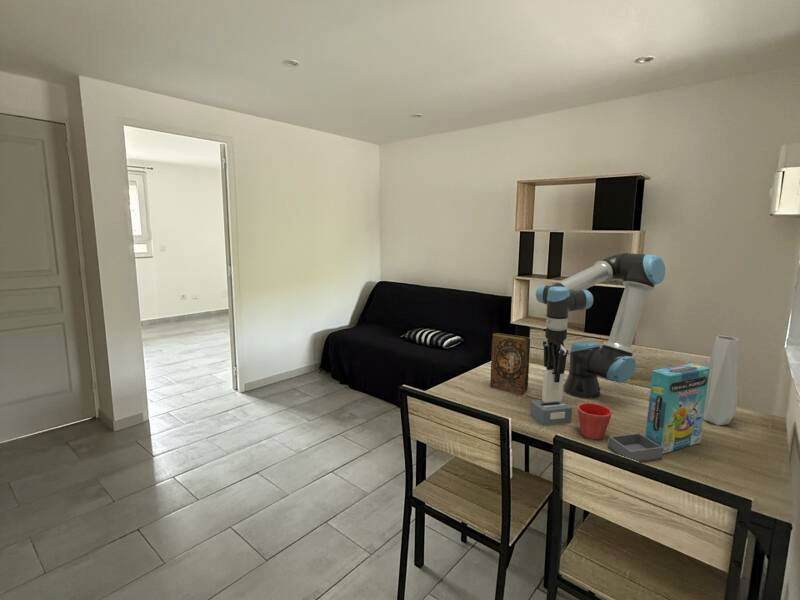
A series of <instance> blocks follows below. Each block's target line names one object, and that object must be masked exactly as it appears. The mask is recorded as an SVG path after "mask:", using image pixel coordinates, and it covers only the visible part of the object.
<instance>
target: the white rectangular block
mask: <svg viewBox="0 0 800 600" xmlns="http://www.w3.org/2000/svg"><path fill="white" fill-rule="evenodd" d="M552 372H554V369H552V370H547V369H544V370H543V372H542V373H543V376H542V377H543V378H542V389H541V391H542V393H541V400H543V401H544V402H545V403H546V402H556V401H563V391H564V374H565V373H564V374H560V381H559V390H551V385H552Z"/></svg>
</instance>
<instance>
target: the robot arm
mask: <svg viewBox="0 0 800 600" xmlns="http://www.w3.org/2000/svg"><path fill="white" fill-rule="evenodd" d="M665 276H666V265H665V262H664V260H663V258H662V257H660V256H659V255H657V254H649V253H646V254H645V253H631V252H620V253H616V254H612V255H608V257H607V256H606V257H605V258H602V259H600V260H598V261H596V262H594V263H593V266H590V267H589V268H586V269H584V270H581V271H580V272H577V273H575V274H573V275H571V276H569V277H567V278H564V279H561V280H560V281H558V282H555V283H553V284H552V285H547V284H546V285H545V284H544V285H543V284H542V285H540V286H538V288H536V291H535V298H536V300H537V302H539V303H541V304H543V305H546V320H545V327H546V328H545V333H544V334H545V335H544V337H545V338H546V340H545V341H543V342H542V345H543V367H545V370H553V369H554V372H552V385H551V390H559V381H560V374H565V371H566V363H567V357H568V353H569V354H570V355H569V371H568V374H567V377H566V380H565V381H564V383H563V391H564V392H565V394H568V395H570V396H573V397H575V398H576V397H577V398H580V399H581V398H582V399H595V398H596V399H597V398H598V397H600V396H601V386H600V383H599V380H598V377H599V378H603V379H606V380H608V381H610V382H615V383H619V384H621V383H625V382H626V381H628V380H629V379H630V378H631V377H632V376H633V374H634V373H635V370H636V367H637V365H636V364H637V363H636V360H635V358H634V357H633V354H634V352H633V350H632V348H631V347H632V344H633V341H634V338H635V335H636V331H637V328H638V326H639V322H640V318H641V316H642V312H643V309H644V306H645V303H646V299H647V296H648V293H650V292H652V291H653V290H654V289H655V286H656V285H659V284H661V283H662V282H663V281H664V279H665ZM612 280H622V282H621V283H622V284H623V286H624V290H623V293H622V296H621V299H620V301H619V306H618V308H617V312H616V314H615V319H614V321H613V324H612V326H611V327H612V328H611V330H610V334H609V337H608V341H606V342H604V343H603V344H602V346H601V344H600V343H599V342H597V341H588V340H587V341H586V340H585V341H584V340H583V341H575V342H572V344H571V345H570V346H571V347H570V351H569V349H566V348H565V345H564V341H565V340H567V335H568V322H569V321H568V319H569V312H575V311H583V310H588V309H590V308H591V307H592V306H593V304H594V296H593V294H592V293H591V292H590V290H587V289H589V288H591V287H594V286H596V285H598V284H600V283H601V282H605V283H606V282H610V281H612Z"/></svg>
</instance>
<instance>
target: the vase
mask: <svg viewBox="0 0 800 600" xmlns="http://www.w3.org/2000/svg"><path fill="white" fill-rule="evenodd" d="M739 361H740V339H739V338H737V337H735V336H728V335H717V336H716V338H715V342H714V345H713V348H712V352H711V355H710V357H709V362H708V365H707V367H708V368H710V370H709V377H708V385H707V393H706V401H705V409H704V416H703V421H705V422H708V423H711V424H714V425H716V426H726V424H727V425H729V424H730V423H731V421H732V420H733V417H734V415H735V413H736V411H737V405H738V386H739V363H740V362H739Z"/></svg>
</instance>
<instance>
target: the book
mask: <svg viewBox="0 0 800 600" xmlns="http://www.w3.org/2000/svg"><path fill="white" fill-rule="evenodd" d="M491 337H492V338H491V356H490V357H491V360H490V361H491V362H490V386H489V387H490V389H494V390H500V391H504V392H507V393H513V394H517V395H524V393H525V392H526V391H527V390H528V388H529V376H530V375H529V374H530V371H529V370H530V355H531V353H530V352H531V351H530V350H531V337H528V336H522V335H521V336H520V335H515V334H514V335H513V334H508V333H507V334H506V333H500V332H496V333H495V332H494V333H492V334H491Z"/></svg>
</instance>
